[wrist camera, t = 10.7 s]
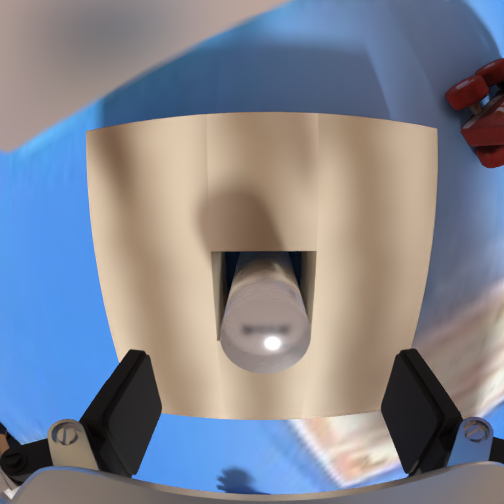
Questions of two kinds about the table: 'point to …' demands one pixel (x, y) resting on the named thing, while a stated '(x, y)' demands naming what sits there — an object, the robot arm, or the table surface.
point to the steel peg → (265, 314)
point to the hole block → (264, 249)
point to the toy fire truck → (483, 112)
